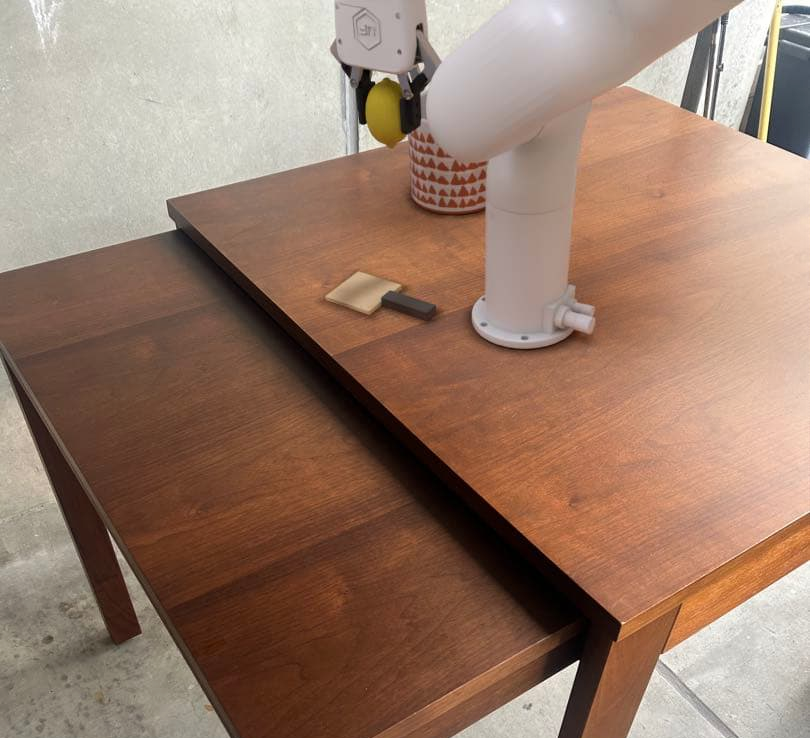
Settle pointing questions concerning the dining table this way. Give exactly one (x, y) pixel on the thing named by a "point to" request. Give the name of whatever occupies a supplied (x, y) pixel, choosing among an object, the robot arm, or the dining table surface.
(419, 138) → the planter
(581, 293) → the dining table surface
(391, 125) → the lemon
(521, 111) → the robot arm
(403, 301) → the spatula
